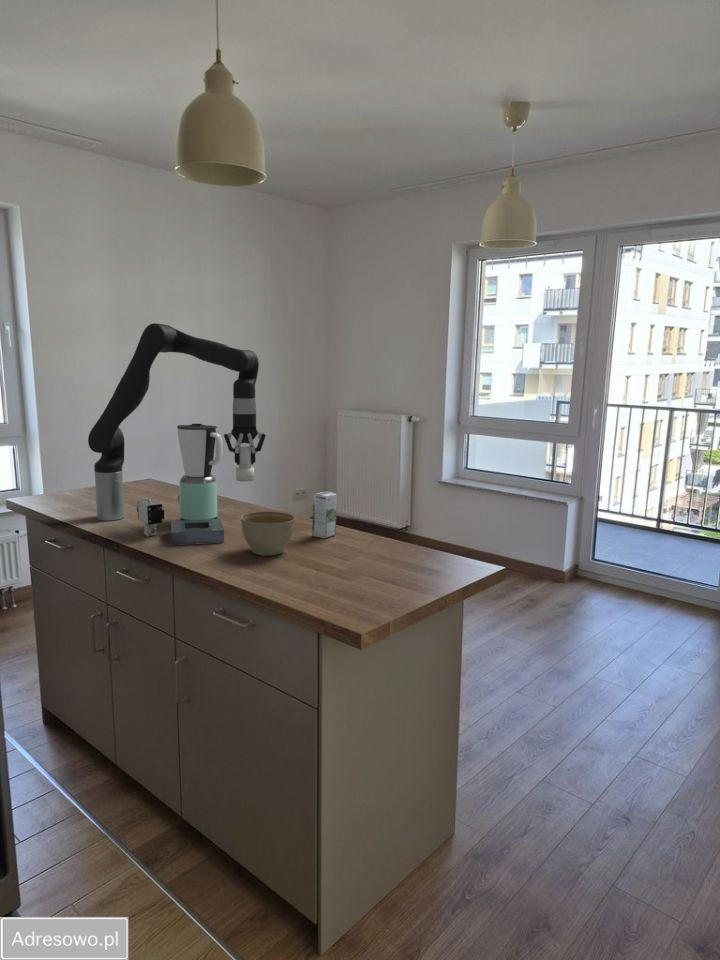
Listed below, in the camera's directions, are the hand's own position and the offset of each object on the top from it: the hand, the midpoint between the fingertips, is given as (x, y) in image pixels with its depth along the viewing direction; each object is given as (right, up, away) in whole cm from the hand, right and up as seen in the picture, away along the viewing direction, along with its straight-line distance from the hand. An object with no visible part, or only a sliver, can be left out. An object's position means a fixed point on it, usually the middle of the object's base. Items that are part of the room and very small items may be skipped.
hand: (244, 464), depth 212 cm
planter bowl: (+10, -27, -17) cm, 34 cm away
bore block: (-15, -24, -3) cm, 28 cm away
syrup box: (+26, -24, +3) cm, 36 cm away
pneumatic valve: (-30, -23, -1) cm, 38 cm away
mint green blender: (-19, -20, +17) cm, 33 cm away
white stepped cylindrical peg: (0, -5, +1) cm, 5 cm away
